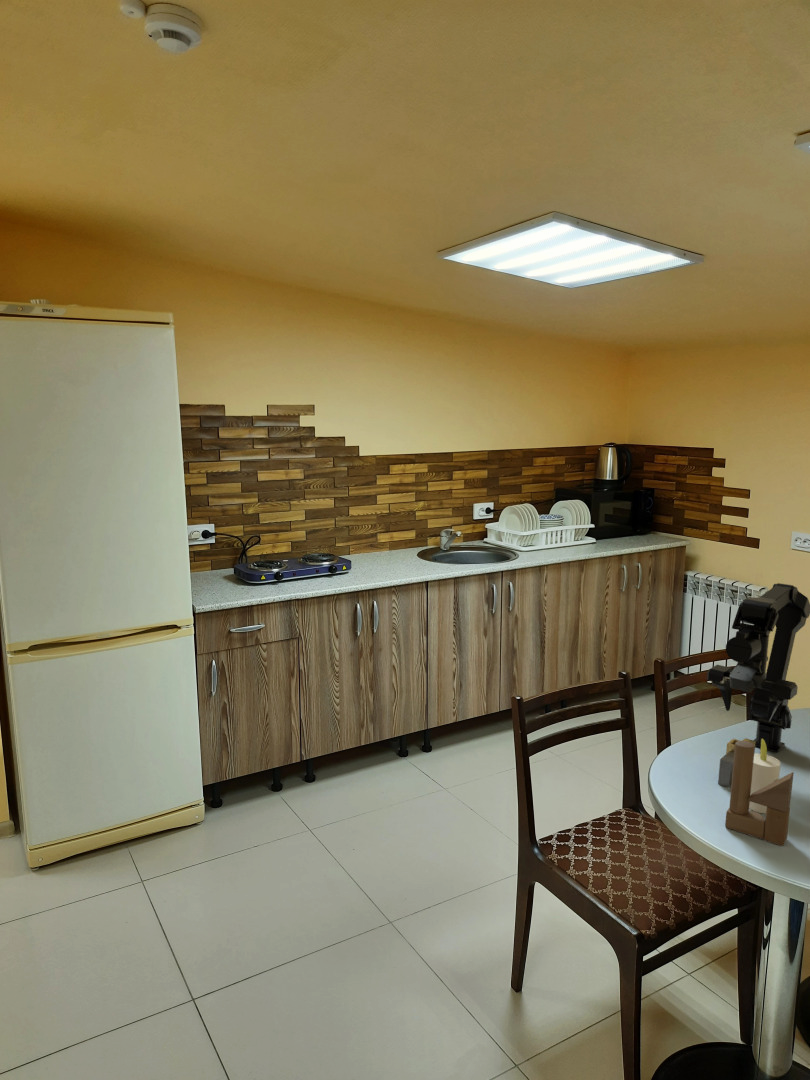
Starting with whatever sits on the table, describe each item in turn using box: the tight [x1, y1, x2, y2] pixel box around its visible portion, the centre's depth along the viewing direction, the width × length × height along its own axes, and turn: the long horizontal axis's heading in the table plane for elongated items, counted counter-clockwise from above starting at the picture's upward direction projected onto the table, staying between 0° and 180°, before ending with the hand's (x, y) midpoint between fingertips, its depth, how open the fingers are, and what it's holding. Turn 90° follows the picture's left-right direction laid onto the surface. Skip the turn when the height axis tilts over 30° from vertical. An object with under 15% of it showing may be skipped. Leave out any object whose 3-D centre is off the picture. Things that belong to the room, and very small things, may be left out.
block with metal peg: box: [717, 742, 736, 788], centre depth 166 cm, size 10×4×8 cm, turn 136°
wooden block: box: [724, 740, 794, 847], centre depth 142 cm, size 4×11×18 cm, turn 52°
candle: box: [749, 739, 782, 815], centre depth 153 cm, size 6×6×15 cm
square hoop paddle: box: [725, 737, 756, 755], centre depth 171 cm, size 10×4×8 cm, turn 136°
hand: (747, 715), depth 171 cm, fingers open, 9 cm apart
